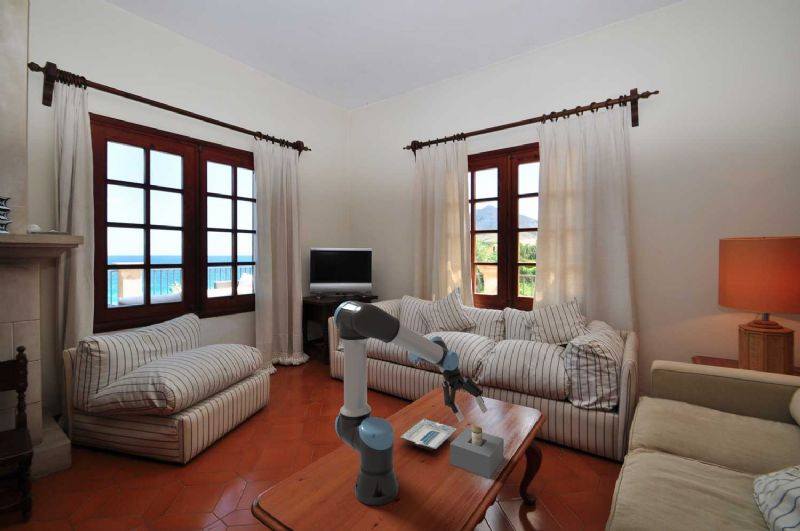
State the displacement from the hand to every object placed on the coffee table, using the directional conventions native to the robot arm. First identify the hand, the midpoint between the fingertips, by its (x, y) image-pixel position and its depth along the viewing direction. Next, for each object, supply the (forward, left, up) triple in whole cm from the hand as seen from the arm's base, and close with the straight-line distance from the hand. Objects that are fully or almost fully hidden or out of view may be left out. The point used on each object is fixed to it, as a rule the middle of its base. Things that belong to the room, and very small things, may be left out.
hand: (474, 416), depth 141 cm
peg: (-2, -2, -16) cm, 16 cm away
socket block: (-2, -2, -17) cm, 17 cm away
